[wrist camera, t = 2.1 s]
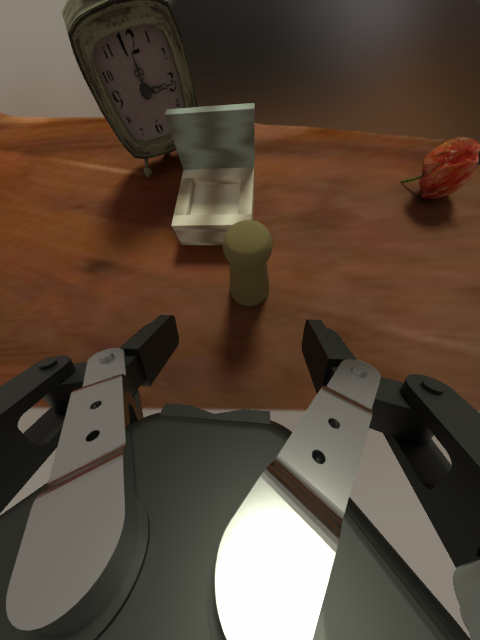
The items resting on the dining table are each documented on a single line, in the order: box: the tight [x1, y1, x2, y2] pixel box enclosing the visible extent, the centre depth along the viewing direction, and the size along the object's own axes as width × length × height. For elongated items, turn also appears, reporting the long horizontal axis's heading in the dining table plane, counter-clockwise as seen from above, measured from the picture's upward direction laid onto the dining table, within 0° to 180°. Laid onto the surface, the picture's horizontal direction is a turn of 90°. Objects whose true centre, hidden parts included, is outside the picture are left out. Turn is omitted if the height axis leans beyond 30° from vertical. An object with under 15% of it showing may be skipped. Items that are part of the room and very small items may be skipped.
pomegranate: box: [401, 137, 480, 199], centre depth 28 cm, size 7×7×10 cm
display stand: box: [165, 103, 254, 245], centre depth 27 cm, size 12×13×11 cm
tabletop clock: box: [62, 0, 197, 177], centre depth 26 cm, size 14×9×25 cm, turn 114°
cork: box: [223, 220, 272, 306], centre depth 23 cm, size 6×6×11 cm
